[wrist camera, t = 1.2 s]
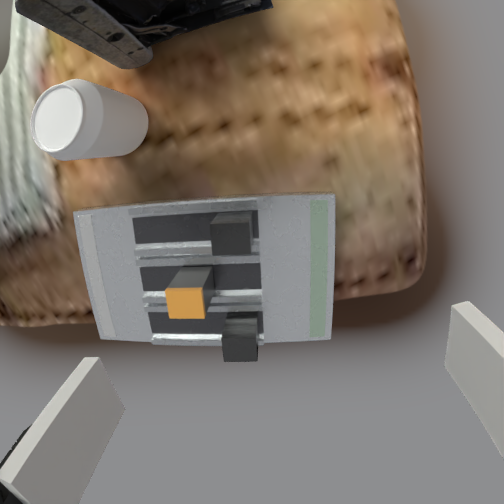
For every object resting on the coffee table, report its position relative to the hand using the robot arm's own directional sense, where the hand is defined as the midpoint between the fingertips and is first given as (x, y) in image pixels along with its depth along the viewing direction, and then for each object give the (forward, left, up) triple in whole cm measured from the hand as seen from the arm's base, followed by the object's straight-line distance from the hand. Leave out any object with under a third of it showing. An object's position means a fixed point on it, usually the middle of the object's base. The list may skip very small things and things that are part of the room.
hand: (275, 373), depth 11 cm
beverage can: (-14, +11, -22) cm, 29 cm away
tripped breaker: (-7, -4, -20) cm, 21 cm away
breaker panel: (-7, -4, -22) cm, 23 cm away
